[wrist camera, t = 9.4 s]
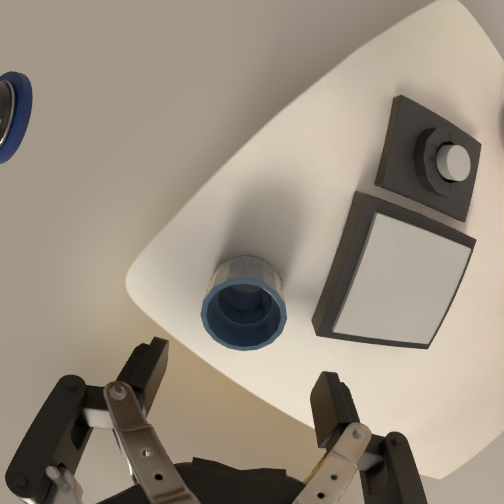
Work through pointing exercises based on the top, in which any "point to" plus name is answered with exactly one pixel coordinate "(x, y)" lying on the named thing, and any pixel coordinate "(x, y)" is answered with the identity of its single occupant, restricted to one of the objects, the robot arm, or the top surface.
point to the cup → (244, 304)
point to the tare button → (453, 162)
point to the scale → (391, 276)
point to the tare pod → (425, 159)
